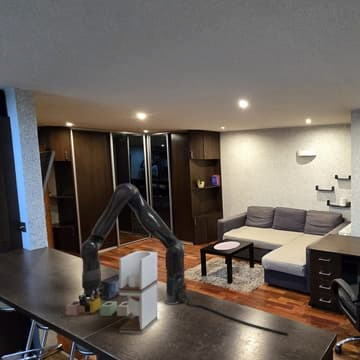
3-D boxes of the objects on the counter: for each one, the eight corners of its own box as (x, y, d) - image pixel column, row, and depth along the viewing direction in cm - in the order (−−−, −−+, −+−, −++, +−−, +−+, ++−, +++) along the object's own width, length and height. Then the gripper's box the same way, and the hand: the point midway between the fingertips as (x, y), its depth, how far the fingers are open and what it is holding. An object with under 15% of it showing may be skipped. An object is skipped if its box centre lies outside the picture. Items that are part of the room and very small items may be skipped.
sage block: (117, 310, 144) (117, 301, 144) (110, 315, 139) (110, 306, 139) (107, 310, 144) (107, 301, 144) (100, 315, 139) (100, 306, 139)
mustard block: (100, 307, 144) (100, 298, 144) (92, 312, 139) (92, 302, 139) (90, 307, 144) (90, 298, 143) (82, 312, 139) (82, 302, 138)
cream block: (133, 310, 145) (133, 301, 144) (127, 316, 140) (126, 306, 139) (123, 310, 144) (123, 301, 144) (117, 315, 139) (117, 306, 139)
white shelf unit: (136, 318, 137) (136, 251, 136) (157, 319, 137) (157, 251, 135) (119, 332, 126) (119, 258, 124) (141, 333, 126) (141, 259, 124)
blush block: (84, 310, 144) (84, 300, 143) (76, 315, 139) (76, 305, 138) (74, 310, 144) (74, 300, 143) (66, 315, 139) (66, 305, 138)
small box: (108, 300, 154) (108, 282, 154) (99, 298, 156) (99, 281, 155) (125, 292, 165) (125, 275, 164) (116, 290, 166) (116, 274, 166)
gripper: (87, 283, 133) (88, 316, 134) (109, 271, 148) (109, 302, 149) (72, 283, 133) (72, 316, 134) (95, 271, 147) (95, 302, 148)
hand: (92, 308), depth 141 cm, fingers closed on mustard block, 5 cm apart
